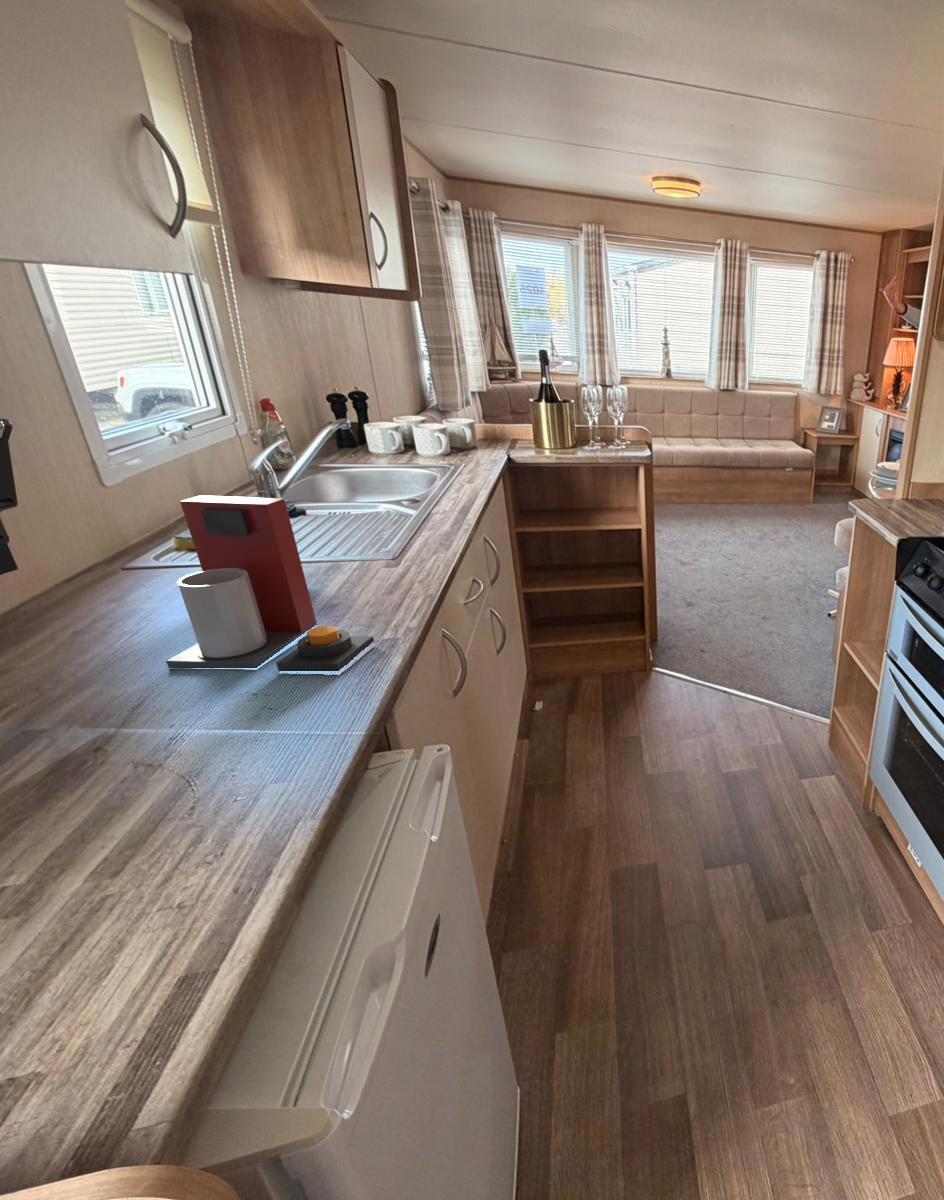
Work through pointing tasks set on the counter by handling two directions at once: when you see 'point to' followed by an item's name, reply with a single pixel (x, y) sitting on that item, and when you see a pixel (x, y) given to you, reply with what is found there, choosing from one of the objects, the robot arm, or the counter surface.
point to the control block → (324, 654)
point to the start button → (323, 635)
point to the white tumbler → (223, 612)
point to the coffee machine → (251, 569)
